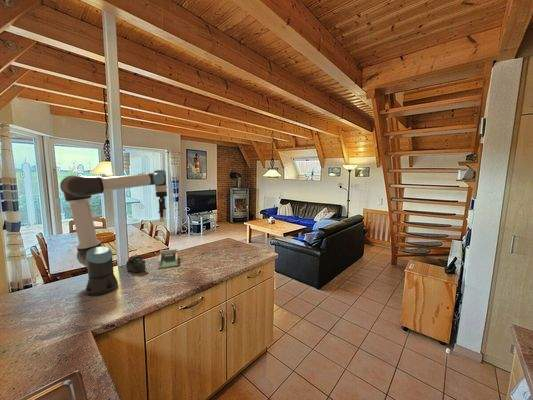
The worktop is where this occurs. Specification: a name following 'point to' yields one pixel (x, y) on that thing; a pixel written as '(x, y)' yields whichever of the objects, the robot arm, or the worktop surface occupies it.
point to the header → (170, 262)
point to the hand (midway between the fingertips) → (163, 219)
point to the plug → (168, 255)
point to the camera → (136, 264)
